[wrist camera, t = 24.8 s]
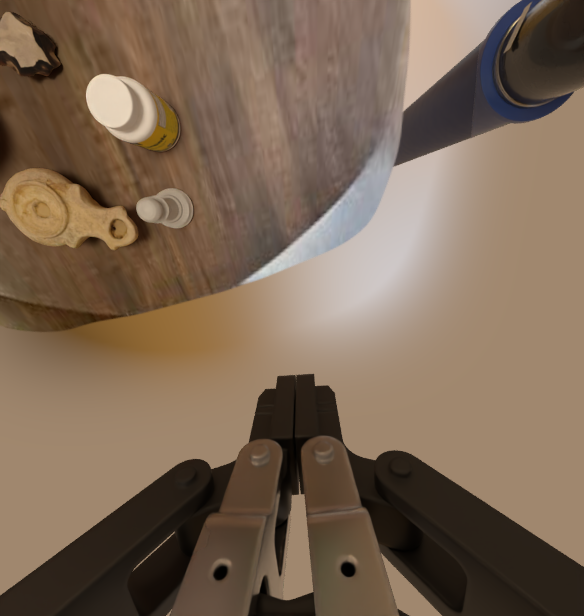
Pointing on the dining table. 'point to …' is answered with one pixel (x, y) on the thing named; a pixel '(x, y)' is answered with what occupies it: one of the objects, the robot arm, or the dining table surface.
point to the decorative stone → (25, 47)
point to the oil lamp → (62, 211)
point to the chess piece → (166, 208)
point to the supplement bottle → (133, 112)
